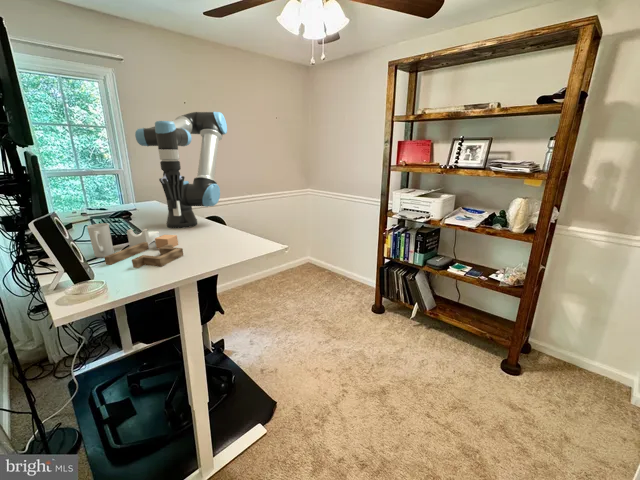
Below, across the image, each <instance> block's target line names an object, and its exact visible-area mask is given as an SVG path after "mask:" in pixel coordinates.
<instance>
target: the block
mask: <svg viewBox="0 0 640 480" xmlns="http://www.w3.org/2000/svg"><path fill="white" fill-rule="evenodd" d="M159 236H160V237H157V238H155V240H154V242H155V246H156V247H155V248H156V249H157V250H159V248H161V247H163V246H165V245H168V244H171V245H173V247H174V248H176V247H177V246H179V239H178V235H177V234H162V235H159Z"/></svg>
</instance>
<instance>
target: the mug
mask: <svg viewBox="0 0 640 480" xmlns="http://www.w3.org/2000/svg"><path fill="white" fill-rule="evenodd" d="M86 229H87V232H88V236H89V240H90V242H91V243H90V244H91V247H92V251H93V253H94V257H95V258H104V257H105V256H108V255H111V254H113V253H115V251H114V246H113V239H112V235H111V230H110V224H109V223H105V222H103V223H102V222H101V223H95V224H90V225H87V226H86Z"/></svg>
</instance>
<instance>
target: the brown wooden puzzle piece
mask: <svg viewBox="0 0 640 480" xmlns="http://www.w3.org/2000/svg"><path fill="white" fill-rule="evenodd" d="M149 249H150V248H149V245H148V242H142V243H140V244H137V245H135V246H132V247H130V246H129V247H127V248H124V249H121V250H119V251H117V252H116V251H115V252H114V253H113V254H111V255H108V256H105V257H103V259H104V261H105V265H106V266H112V265H115V264H116V263H119V262H122V261H124V260H126V259H129V258H131V257H134V256H136V255H138V254H141V253H144V252H146V251H148V250H149ZM158 250H159V256H158V255H157V256H155V255H148V254H147V255H146V254H143V255H140V256H138V257H135V258H132V259H131V263H132V267H133V268H134V269H140V268H141V267H144V266H149V267H159V268H163V267H164V266H166V265H168V264H169V263H171V262H173V261H176V260H178V259H179V258H181V257H184V251H183V250H184V249H183V248H182V247H173V245H171V244H168V245H165V246H163V247H161V248H159V249H158Z"/></svg>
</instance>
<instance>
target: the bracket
mask: <svg viewBox="0 0 640 480" xmlns="http://www.w3.org/2000/svg"><path fill="white" fill-rule="evenodd" d="M126 235H127V239H128V244H129V247H132V246H135V245H137V244H140V243H142V242H148V246H149V245H150V244H151V243H153V242H155V238H157V237H160V236H161V235H160V232H159V230H158V231H148V228H145V229H142V231H141V232H140V233H138V234H137V233H135V232H134V230H133V229H132V228H131V229H127V230H126Z"/></svg>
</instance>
